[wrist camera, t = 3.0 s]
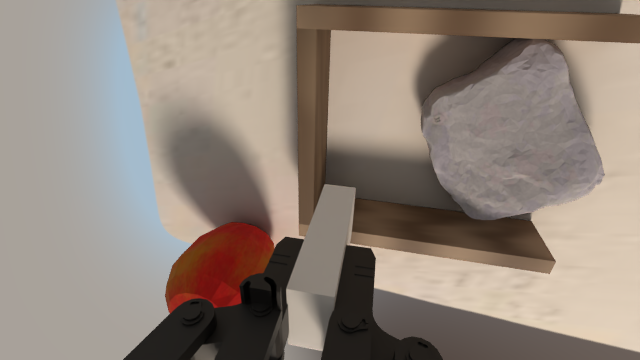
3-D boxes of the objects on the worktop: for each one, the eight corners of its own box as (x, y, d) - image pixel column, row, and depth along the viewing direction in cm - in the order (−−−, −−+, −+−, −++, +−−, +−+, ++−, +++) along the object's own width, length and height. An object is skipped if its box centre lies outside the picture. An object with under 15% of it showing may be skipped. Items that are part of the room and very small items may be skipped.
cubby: (620, 13, 20) (681, 17, 16) (526, 232, 28) (549, 273, 24) (315, 4, 23) (296, 5, 19) (312, 203, 31) (299, 235, 27)
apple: (263, 190, 32) (200, 281, 22) (306, 257, 35) (269, 364, 25) (196, 216, 35) (114, 305, 25) (240, 275, 39) (184, 375, 28)
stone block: (466, 201, 30) (600, 165, 24) (464, 235, 27) (621, 202, 21) (406, 91, 27) (544, 19, 21) (394, 112, 23) (557, 32, 17)
